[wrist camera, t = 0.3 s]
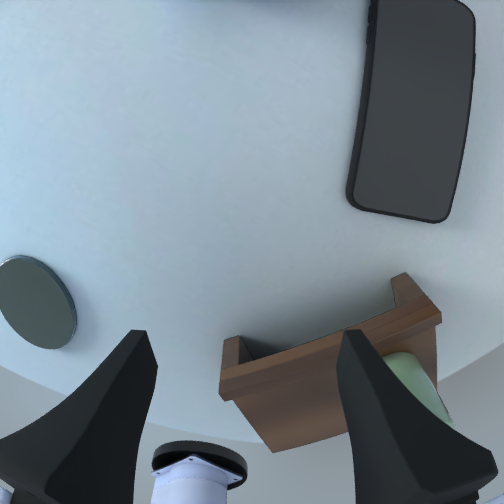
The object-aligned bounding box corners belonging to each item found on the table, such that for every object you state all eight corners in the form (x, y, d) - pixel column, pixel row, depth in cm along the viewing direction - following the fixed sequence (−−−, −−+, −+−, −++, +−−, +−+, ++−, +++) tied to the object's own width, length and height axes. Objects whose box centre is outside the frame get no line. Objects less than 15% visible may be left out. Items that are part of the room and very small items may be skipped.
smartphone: (343, 209, 17) (374, -37, 11) (338, 204, 18) (369, -32, 12) (448, 227, 18) (477, 9, 12) (441, 222, 18) (469, 11, 12)
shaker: (376, 409, 19) (406, 494, 13) (343, 382, 18) (372, 482, 11) (429, 372, 18) (473, 453, 11) (402, 339, 17) (454, 433, 10)
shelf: (418, 362, 23) (442, 404, 18) (270, 415, 25) (273, 463, 20) (406, 271, 20) (441, 312, 15) (223, 340, 21) (218, 393, 17)
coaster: (54, 360, 23) (51, 364, 22) (-11, 297, 20) (-15, 301, 20) (94, 309, 20) (91, 313, 20) (16, 233, 18) (11, 236, 18)
